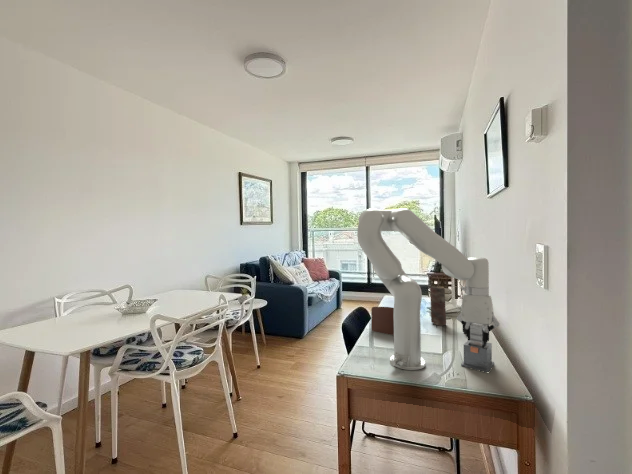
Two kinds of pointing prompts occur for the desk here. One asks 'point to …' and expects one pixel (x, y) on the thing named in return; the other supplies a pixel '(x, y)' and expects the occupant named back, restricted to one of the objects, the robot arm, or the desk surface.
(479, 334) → the column
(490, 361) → the stand base
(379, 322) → the letter holder
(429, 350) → the desk surface
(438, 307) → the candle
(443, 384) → the desk surface
